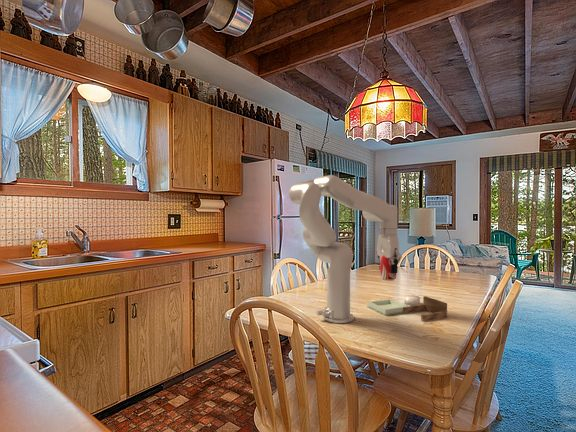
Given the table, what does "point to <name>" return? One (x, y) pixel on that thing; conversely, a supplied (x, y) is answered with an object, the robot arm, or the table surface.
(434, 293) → the table surface
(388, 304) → the tray
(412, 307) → the cradle
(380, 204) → the robot arm
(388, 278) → the soda can
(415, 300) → the cream rounded knob
